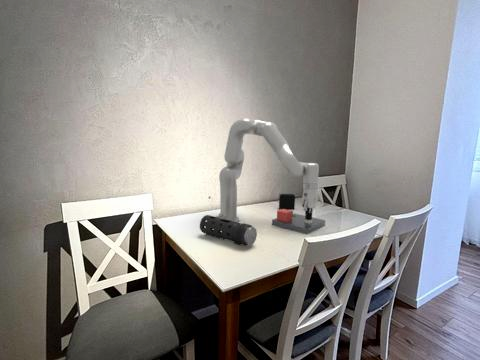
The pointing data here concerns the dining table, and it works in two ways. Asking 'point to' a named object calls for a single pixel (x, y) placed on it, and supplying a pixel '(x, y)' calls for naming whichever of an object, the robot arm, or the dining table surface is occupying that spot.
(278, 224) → the board
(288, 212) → the red block
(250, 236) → the muzzle brake
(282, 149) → the robot arm
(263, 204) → the dining table surface
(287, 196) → the electronic device
